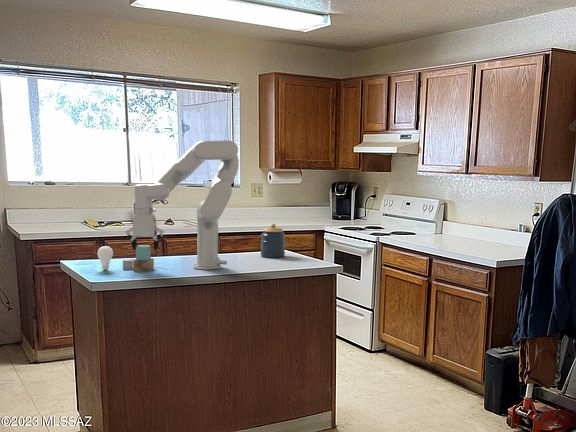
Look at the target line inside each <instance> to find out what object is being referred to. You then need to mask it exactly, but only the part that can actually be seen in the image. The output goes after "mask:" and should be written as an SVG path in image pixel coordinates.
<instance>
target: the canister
mask: <svg viewBox="0 0 576 432" xmlns="http://www.w3.org/2000/svg"><path fill="white" fill-rule="evenodd" d="M262 231H263V232H262V233H261V234H260V236H261V240H260V256H261V257H262V258H267V259H280V258H281V259H282V258H284V257H285V255H286V254H285V253H286V252H285V249H286V248H285V247H286V245H285V244H286V239H285V236H286V234H285V233H284V231H285V230H284V229H282V227H277V226H276V224H275V223H271V224H270V227H269V226H268V227H265V228H263V229H262Z"/></svg>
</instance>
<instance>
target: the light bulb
mask: <svg viewBox="0 0 576 432" xmlns="http://www.w3.org/2000/svg"><path fill="white" fill-rule="evenodd" d="M113 256H114V251H113V249H112V248H111V247H110V246H107V245H104V246H101V247H99V248H98V250H97V257H98V260H100V261H99V262H100V264H101V269H102V270H103V271H104V272H105V271H108V270H109V268H110V262H111V260H112V258H113Z"/></svg>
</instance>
